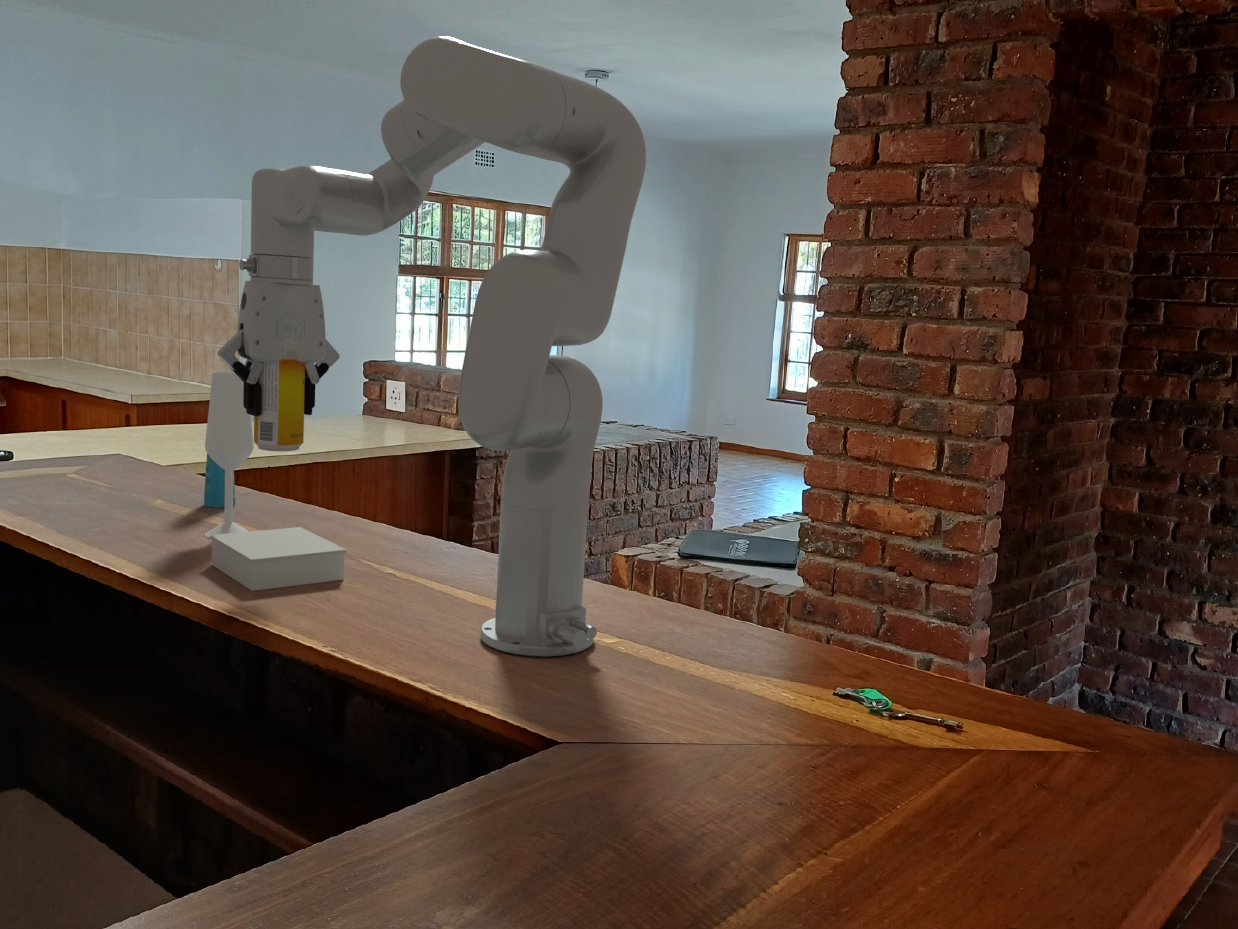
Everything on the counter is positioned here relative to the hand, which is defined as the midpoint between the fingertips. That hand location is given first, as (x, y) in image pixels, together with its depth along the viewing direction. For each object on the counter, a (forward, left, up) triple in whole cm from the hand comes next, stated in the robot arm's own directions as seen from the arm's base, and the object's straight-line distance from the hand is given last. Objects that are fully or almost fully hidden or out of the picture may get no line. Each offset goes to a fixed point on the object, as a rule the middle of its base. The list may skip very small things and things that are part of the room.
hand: (279, 412), depth 139 cm
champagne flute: (+23, -2, -21) cm, 31 cm away
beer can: (0, 0, -5) cm, 5 cm away
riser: (0, 0, -21) cm, 21 cm away
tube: (+44, -8, -21) cm, 49 cm away
